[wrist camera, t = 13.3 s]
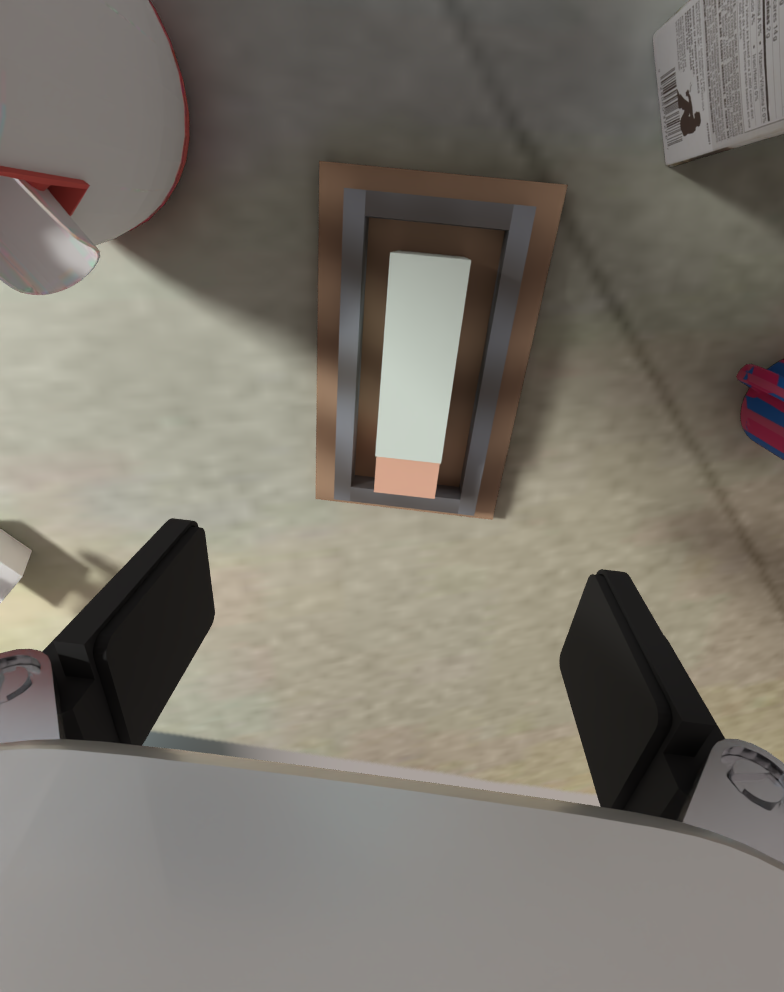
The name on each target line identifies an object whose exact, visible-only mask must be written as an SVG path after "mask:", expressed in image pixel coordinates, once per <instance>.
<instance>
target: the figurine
mask: <svg viewBox="0 0 784 992" xmlns="http://www.w3.org/2000/svg"><path fill="white" fill-rule="evenodd" d="M31 552H32V550H31V549H29V548H28V547H26V546H25V545H23V544H22V543H21V542H19V541H18V540H16V539H15V538H13V537H12V536H10V535H9V534H8V533H6V532H5V531H3V530H2V529H0V603H1V602H2V601H3V600H4V598H5V597H6V596H7V595H8V594H9V592H10V591H11V590H12V589H13V588H14V586H15V585H16V584H17V583H18V582H19V580H20V579H21V578H22V577H23V574H24V571H25V569H26V566H27V563H28V560H29V557H30V555H31Z"/></svg>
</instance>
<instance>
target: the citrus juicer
mask: <svg viewBox="0 0 784 992" xmlns="http://www.w3.org/2000/svg"><path fill="white" fill-rule="evenodd" d="M189 139H190V133H189V110H188V104H187V98H186V92H185V86H184V81H183V78H182V75H181V72H180V69H179V65H178V62H177V59H176V56H175V53H174V50H173V47H172V44H171V41H170V39H169V37H168V34H167V32H166V30H165V28H164V26H163V24H162V22H161V20H160V18H159V15H158V13H157V11H156V9H155V8H154V6H153V5H152V3H151V2H150V0H0V280H2V281H3V282H4V283H5V284H7V285H8V286H10V287H11V288H13V289H14V290H17V291H19V292H22V293H26V294H32V295H46V294H52V293H56V292H59V291H62V290H65V289H67V288H69V287H71V286H73V285H75V284H76V283H78V282H79V281H81V280H82V279H83V278H84V277H86V276H87V275H88V274H89V273H90V272H91V271H92V269H93V268H94V267H95V266H96V264H97V262H98V260H99V258H100V251H99V250H98V249H97V247H96V246H95V245H98V244H101V243H104V242H106V241H109V240H112V239H115V238H117V237H118V236H120V235H122V234H124V233H125V232H127V231H130V230H132V229H134V228H136V227H138V226H139V225H141V224H143V223H145V222H146V221H148V220H149V219H150V218H151V217H152V216H153V215H154V214H155V213H156V212H157V211H158V210H159V209H160V208H161V207H162V206H163V205H164V204H165V203H166V202H167V200H168V198H169V197H170V195H171V194H172V192H173V190H174V189H175V187H176V185H177V184H178V182H179V180H180V177H181V174H182V171H183V168H184V166H185V163H186V159H187V152H188V145H189Z"/></svg>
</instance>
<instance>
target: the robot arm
mask: <svg viewBox="0 0 784 992" xmlns="http://www.w3.org/2000/svg"><path fill="white" fill-rule="evenodd" d="M214 615H215V608H214V600H213V593H212V585H211V577H210V569H209V561H208V553H207V545H206V537H205V531H204V529H203V528H199V527H198V524H197V522H195V521H190V520H182V519H173V518H172V519H169V520H168V521H167V522H166V523H165V524H164V525H163V526H162V527H161V528H160V529H159V530H158V531H157V532H156V533H155V534H154V535H153V536H152V537H151V538H150V540H149V541H148V542H147V543H146V544H145V545H144V546H143V547H142V548H141V549H140V550H139V551H138V552H137V553H136V554H135V555H134V556H133V557H132V558H131V559H130V561H129V562H128V563H127V564H126V565H125V566H124V567H123V568H122V569H121V570H120V571H119V572H118V573H117V574H116V575H115V576H114V577H113V578H112V579H111V580H110V581H109V582H108V583H107V584H106V586H105V587H104V588H103V589H102V590H101V591H100V592H99V593H98V594H97V595H96V596H95V597H94V598H93V599H92V600H91V601H90V602H89V603H88V604H87V605H86V606H85V608H84V609H83V610H82V611H81V612H80V613H79V614H78V615H77V616H76V617H75V618H74V619H73V620H72V621H71V622H70V623H69V624H68V625H67V626H66V627H65V628H64V630H63V631H62V632H61V633H60V634H59V635H58V636H57V637H56V638H55V639H54V640H53V641H52V642H51V643H50V644H49V645H48V646H47V647H46V648H45V649H44V650H43V652H41V651H38V650H33V649H16V650H12V651H8V652H4V653H0V992H784V764H783V763H782V762H781V761H780V760H779V759H777V758H776V757H774V756H773V755H772V754H770V753H769V752H767V751H766V750H764V749H762V748H760V747H758V746H756V745H754V744H752V743H749V742H745V741H742V740H739V739H725V738H724V736H723V734H722V733H721V731H720V729H719V727H718V726H717V724H716V722H715V720H714V719H713V717H712V715H711V714H710V712H709V710H708V708H707V707H706V705H705V703H704V702H703V700H702V698H701V696H700V695H699V693H698V691H697V690H696V688H695V686H694V684H693V683H692V681H691V679H690V678H689V676H688V674H687V672H686V671H685V669H684V667H683V666H682V664H681V662H680V660H679V659H678V657H677V655H676V654H675V652H674V650H673V648H672V647H671V645H670V643H669V642H668V640H667V639H666V637H665V636H664V635H663V633H662V632H661V630H660V628H659V626H658V625H657V623H656V621H655V619H654V618H653V616H652V614H651V613H650V611H649V609H648V607H647V606H646V604H645V602H644V600H643V599H642V597H641V595H640V594H639V592H638V590H637V588H636V587H635V585H634V583H633V582H632V580H631V578H630V576H629V575H628V574H627V573H625V572H620V571H611V570H603V569H601V570H599V571H598V572H597V574H596V575H593V574H592V575H590V576H589V578H588V580H587V583H586V586H585V589H584V591H583V594H582V597H581V599H580V602H579V605H578V608H577V610H576V613H575V616H574V618H573V621H572V624H571V627H570V629H569V632H568V635H567V637H566V640H565V643H564V646H563V648H562V651H561V654H560V670H561V673H562V677H563V680H564V684H565V687H566V691H567V694H568V697H569V701H570V704H571V708H572V711H573V714H574V718H575V721H576V725H577V728H578V732H579V735H580V738H581V742H582V745H583V749H584V752H585V755H586V759H587V762H588V766H589V769H590V773H591V776H592V779H593V783H594V786H595V790H596V793H597V796H598V800H599V803H600V806H601V807H598V806H592V805H585V804H579V803H572V802H566V801H559V800H552V799H546V798H538V797H531V796H523V795H517V794H508V793H502V792H495V791H488V790H480V789H473V788H466V787H459V786H452V785H444V784H437V783H430V782H422V781H415V780H407V779H400V778H392V777H384V776H377V775H369V774H362V773H355V772H347V771H339V770H332V769H324V768H317V767H309V766H302V765H294V764H286V763H278V762H271V761H263V760H255V759H246V758H239V757H231V756H223V755H215V754H208V753H199V752H192V751H184V750H176V749H167V748H158V747H148V746H142V744H143V743H144V741H145V740H146V738H147V736H148V734H149V733H150V731H151V729H152V727H153V726H154V724H155V722H156V721H157V719H158V717H159V715H160V714H161V712H162V710H163V709H164V707H165V705H166V703H167V702H168V700H169V698H170V696H171V695H172V693H173V691H174V690H175V688H176V686H177V684H178V683H179V681H180V679H181V677H182V676H183V674H184V672H185V671H186V669H187V667H188V665H189V664H190V662H191V660H192V658H193V657H194V655H195V653H196V652H197V650H198V648H199V646H200V645H201V643H202V641H203V639H204V638H205V636H206V634H207V633H208V631H209V629H210V627H211V625H212V623H213V620H214Z"/></svg>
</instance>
